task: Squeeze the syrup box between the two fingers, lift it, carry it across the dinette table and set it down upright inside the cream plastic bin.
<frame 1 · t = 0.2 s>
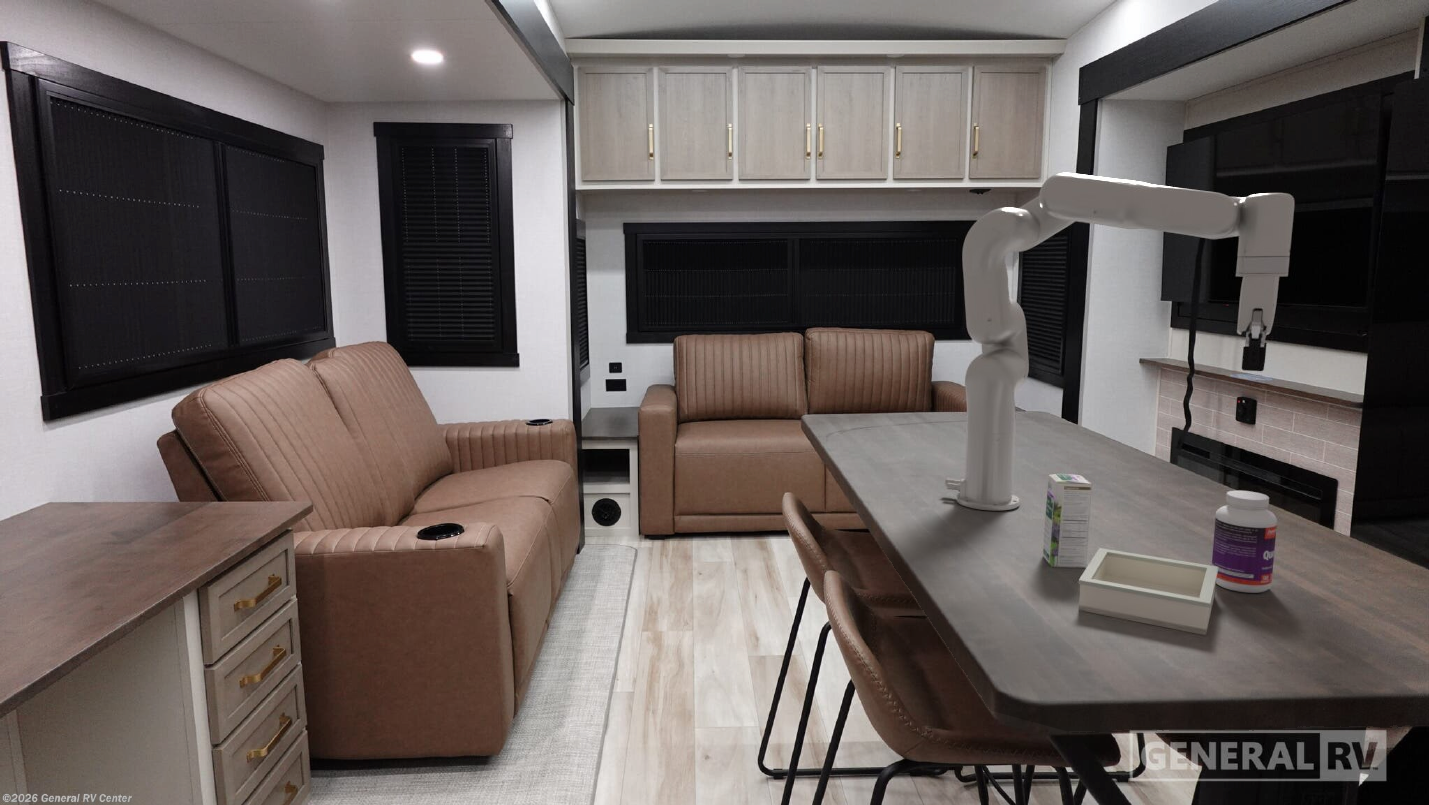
hand: (1253, 367, 149), 31 cm above the table, tool pointing down, fingers open, 9 cm apart
bin: (1147, 603, 126), on the table
pill bottle: (1239, 587, 132), on the table
syrup box: (1064, 563, 144), on the table
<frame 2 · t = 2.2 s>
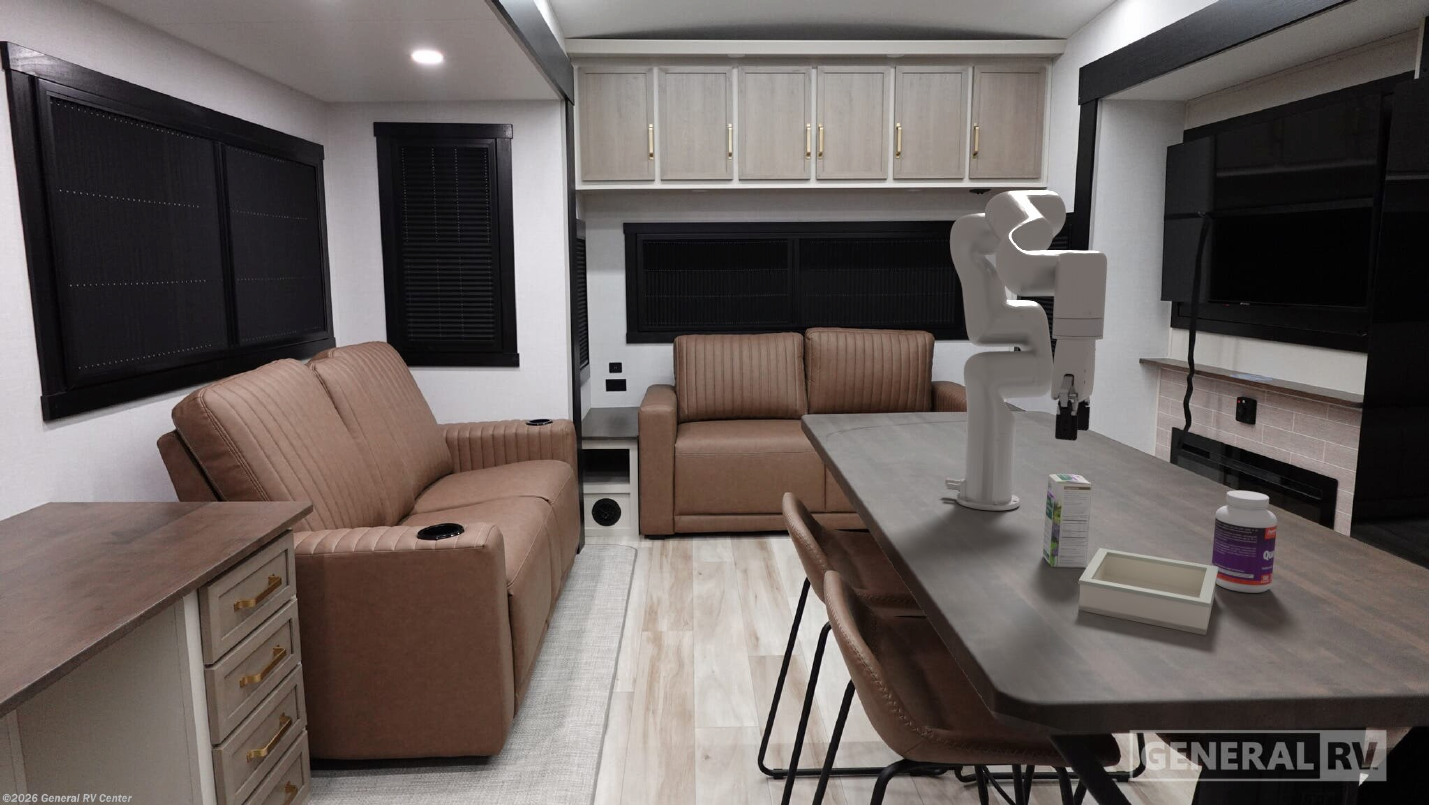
hand: (1072, 434, 140), 22 cm above the table, tool pointing down, fingers open, 9 cm apart
nothing on the table moved.
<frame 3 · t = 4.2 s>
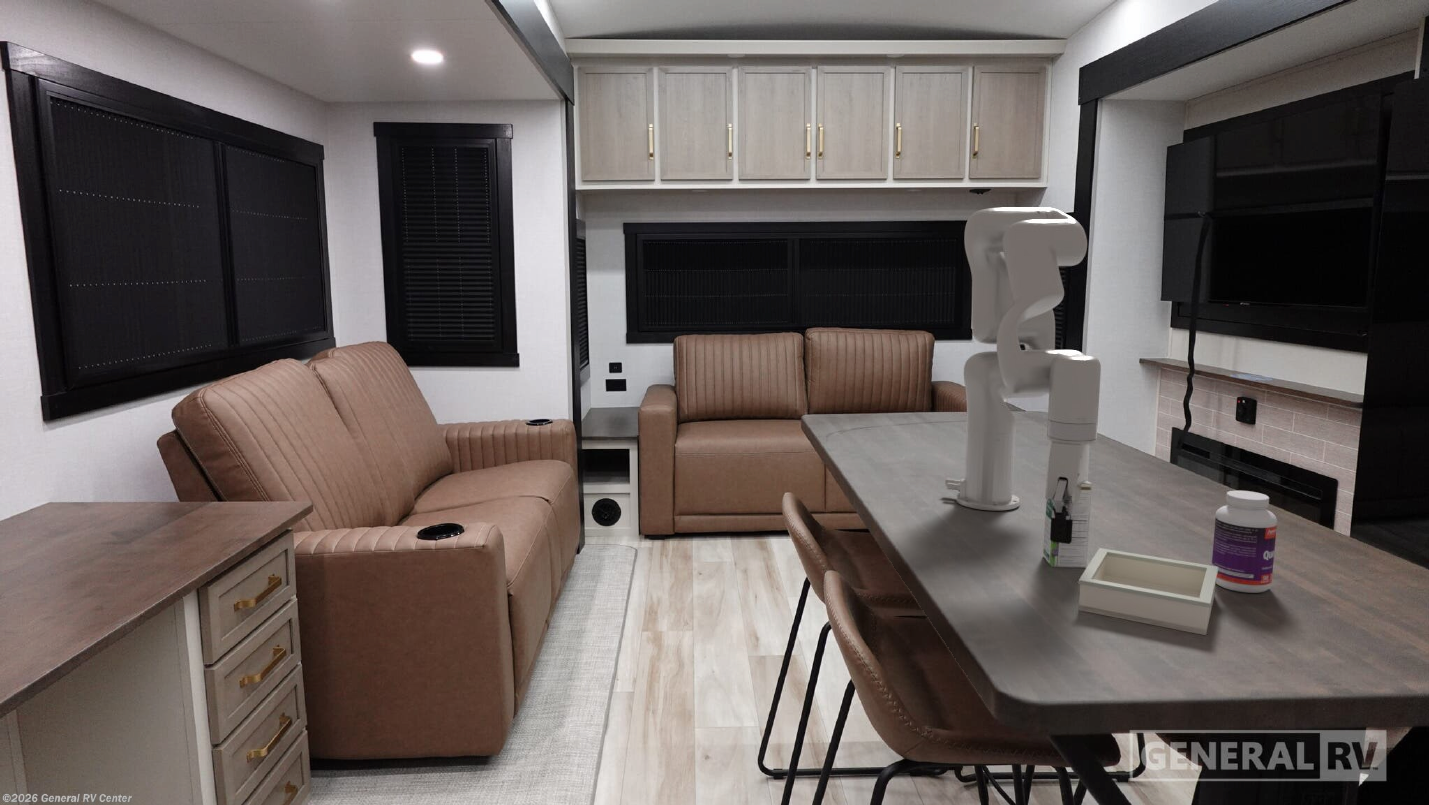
hand: (1066, 534, 143), 5 cm above the table, tool pointing down, fingers closed on syrup box, 7 cm apart
syrup box: (1064, 563, 144), on the table, touching gripper
everything else where it was.
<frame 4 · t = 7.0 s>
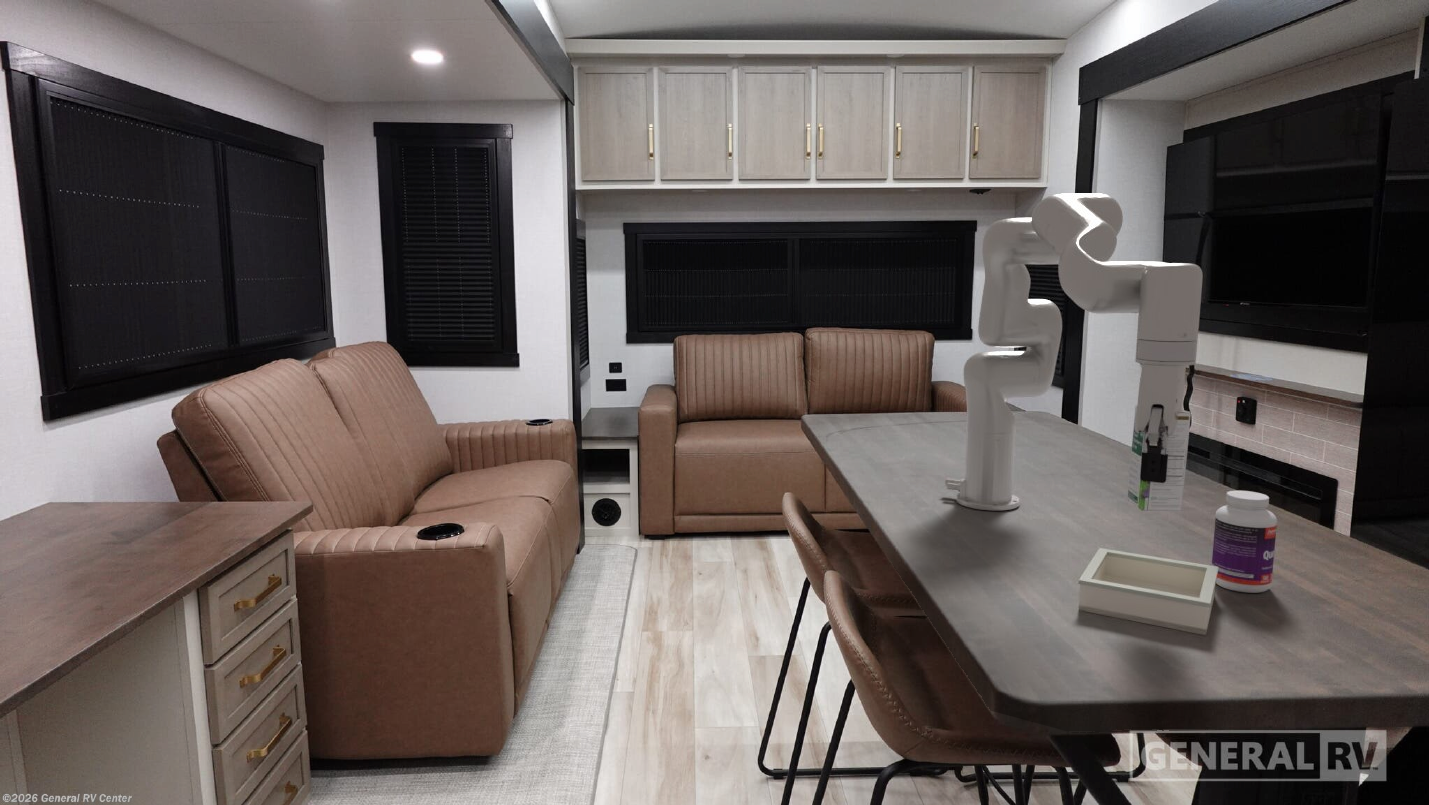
hand: (1156, 474, 123), 19 cm above the table, tool pointing down, fingers closed on syrup box, 7 cm apart
syrup box: (1154, 507, 124), point 14 cm above the table, touching gripper
everything else where it was.
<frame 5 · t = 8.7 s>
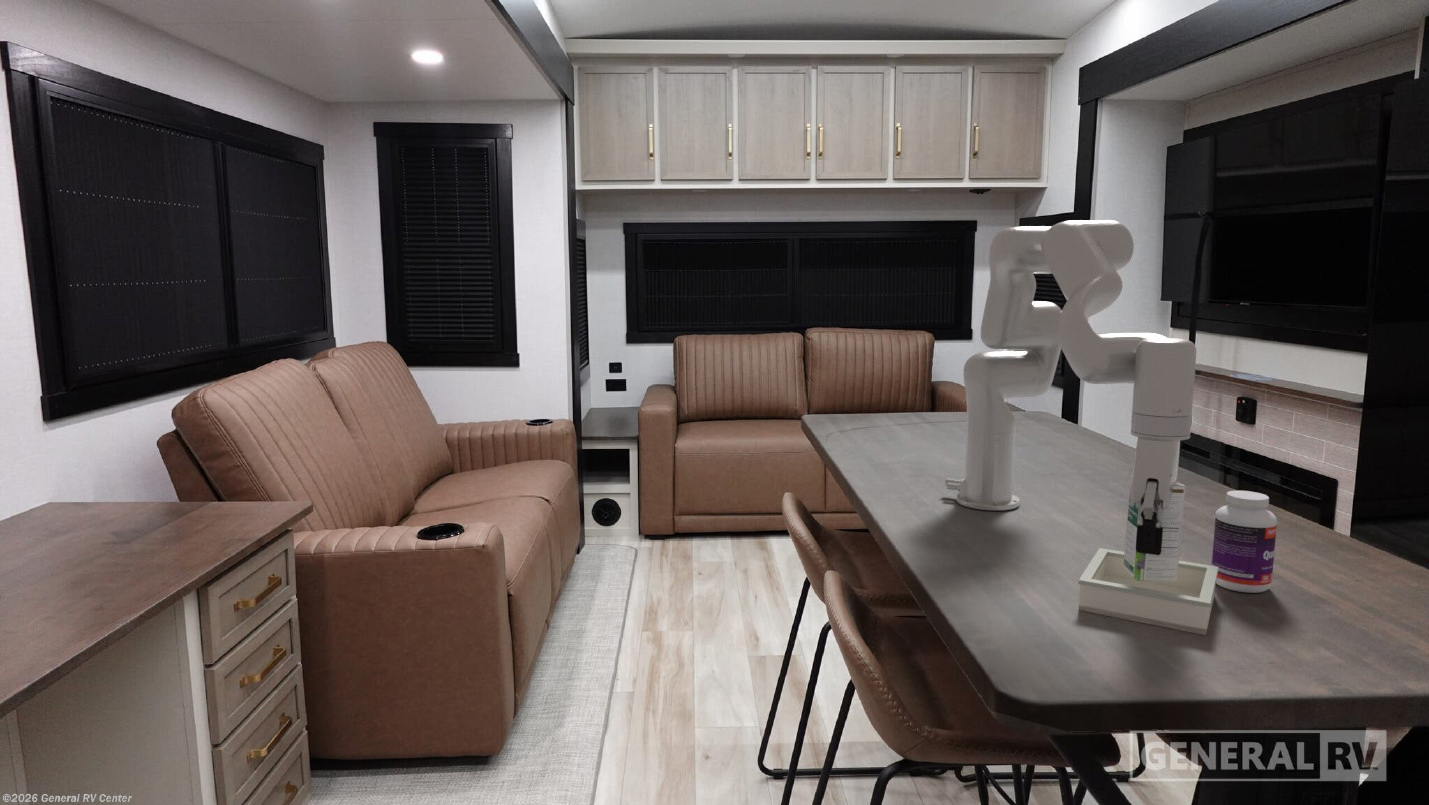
hand: (1152, 544, 125), 9 cm above the table, tool pointing down, fingers closed on syrup box, 7 cm apart
syrup box: (1149, 576, 125), point 4 cm above the table, touching gripper
everything else where it was.
when the fingers open (6 cm above the table, at t = 9.9 s): syrup box stays where it is, resting on bin.
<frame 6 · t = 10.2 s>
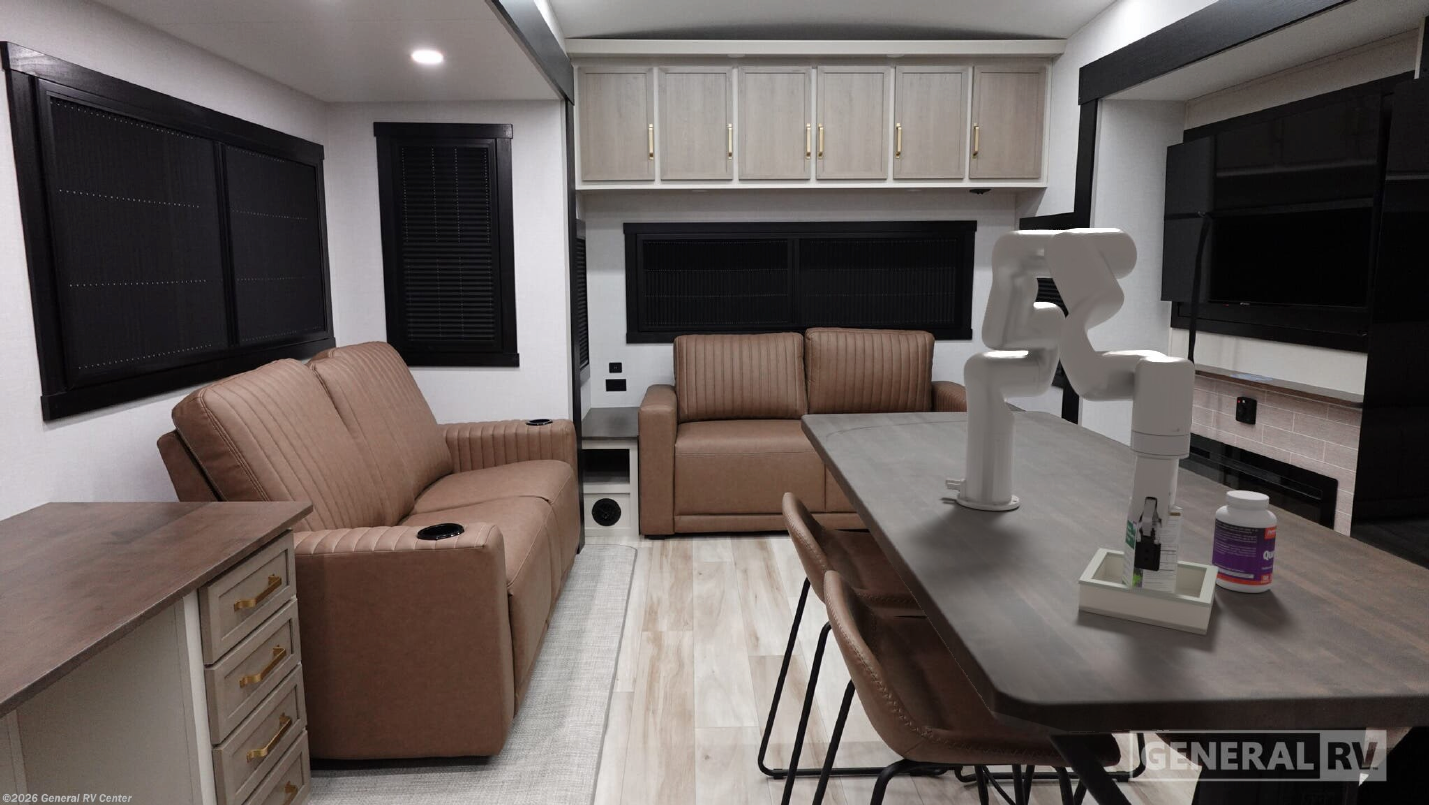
hand: (1150, 559, 125), 7 cm above the table, tool pointing down, fingers open, 9 cm apart
syrup box: (1147, 598, 126), point 1 cm above the table, touching bin
everything else where it was.
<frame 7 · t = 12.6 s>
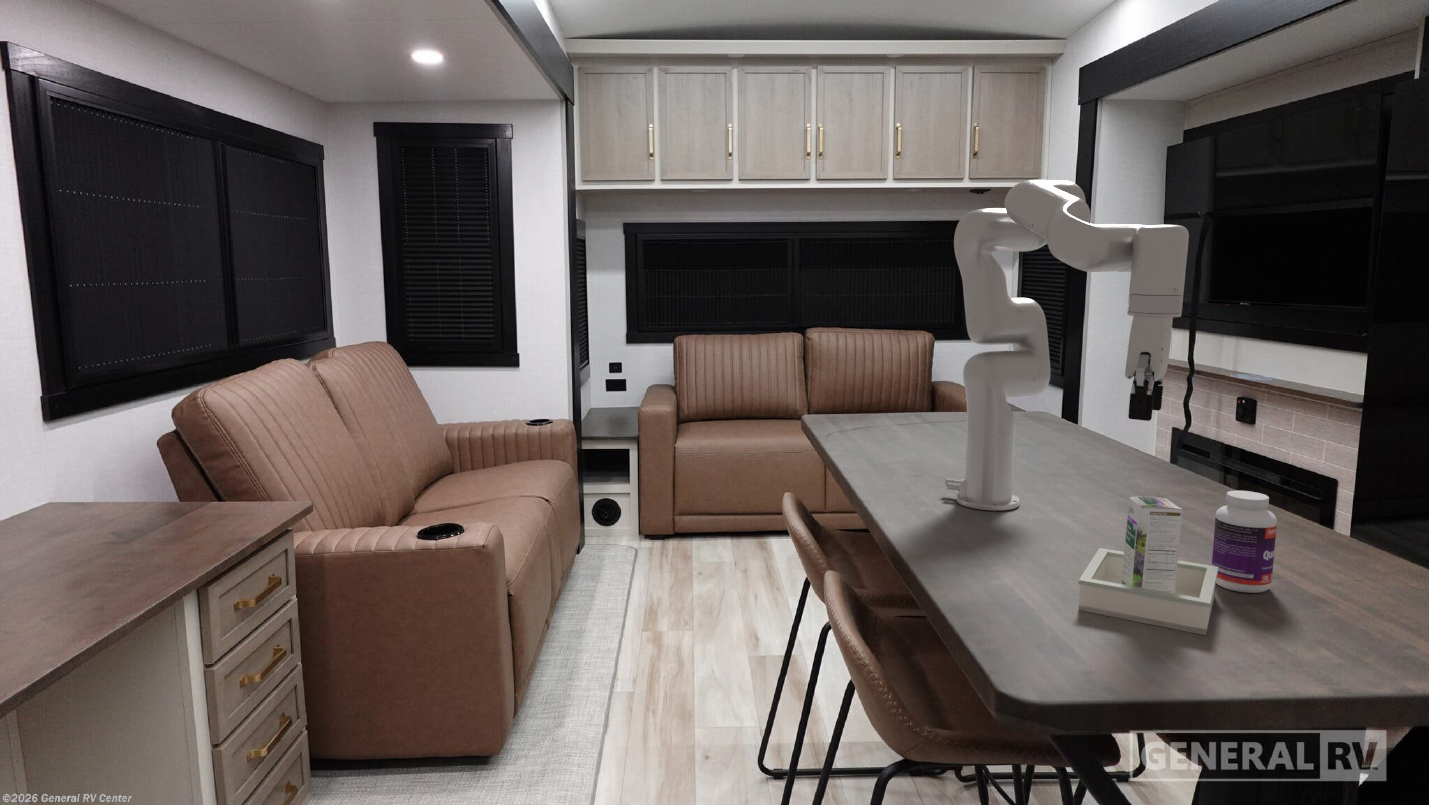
hand: (1144, 414, 136), 26 cm above the table, tool pointing down, fingers open, 9 cm apart
nothing on the table moved.
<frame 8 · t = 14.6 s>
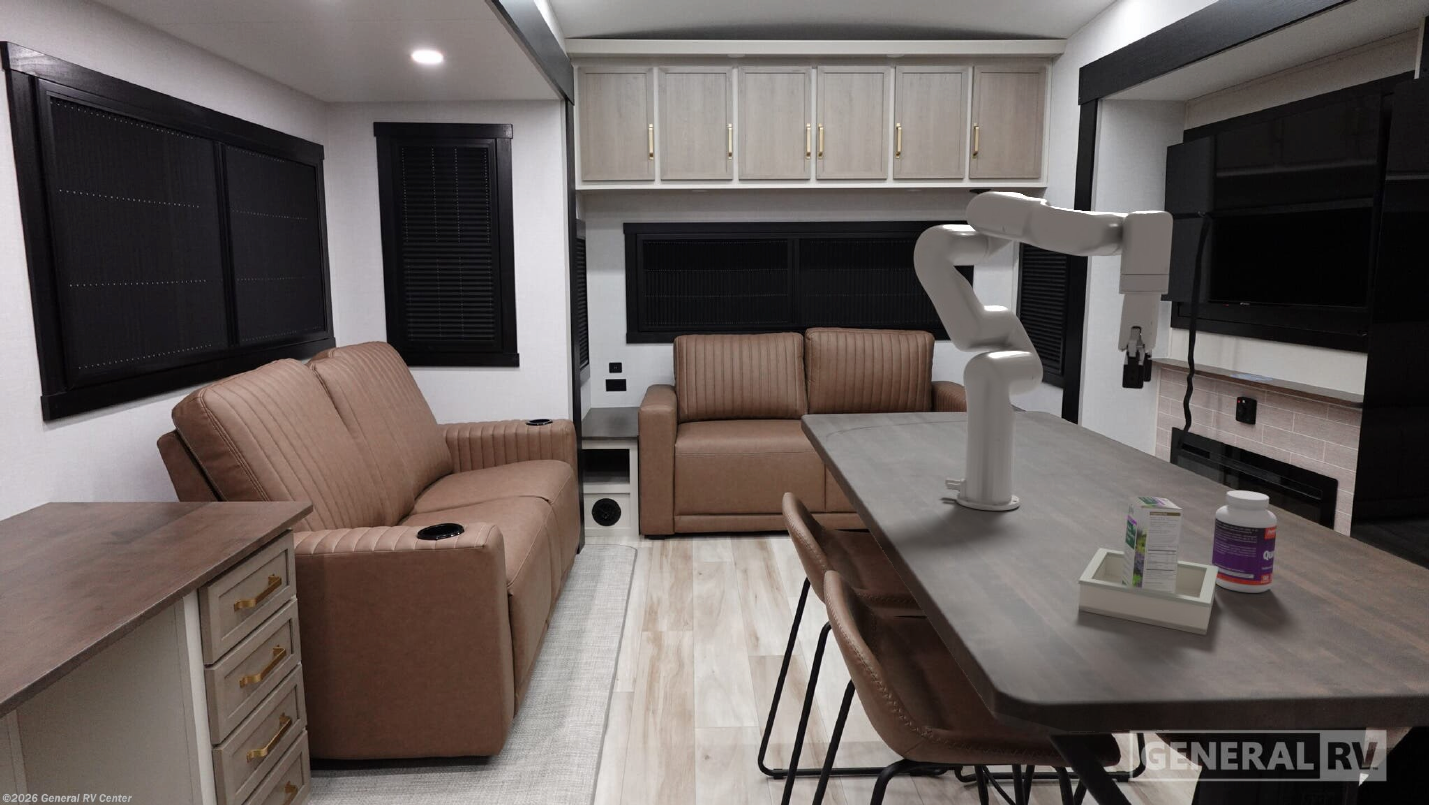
hand: (1136, 384, 149), 28 cm above the table, tool pointing down, fingers open, 9 cm apart
nothing on the table moved.
at the end: syrup box inside the target area on the bin (0.4 cm from its centre), point 0.6 cm above the bin's base; syrup box tilted 0°; the gripper is holding nothing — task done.
